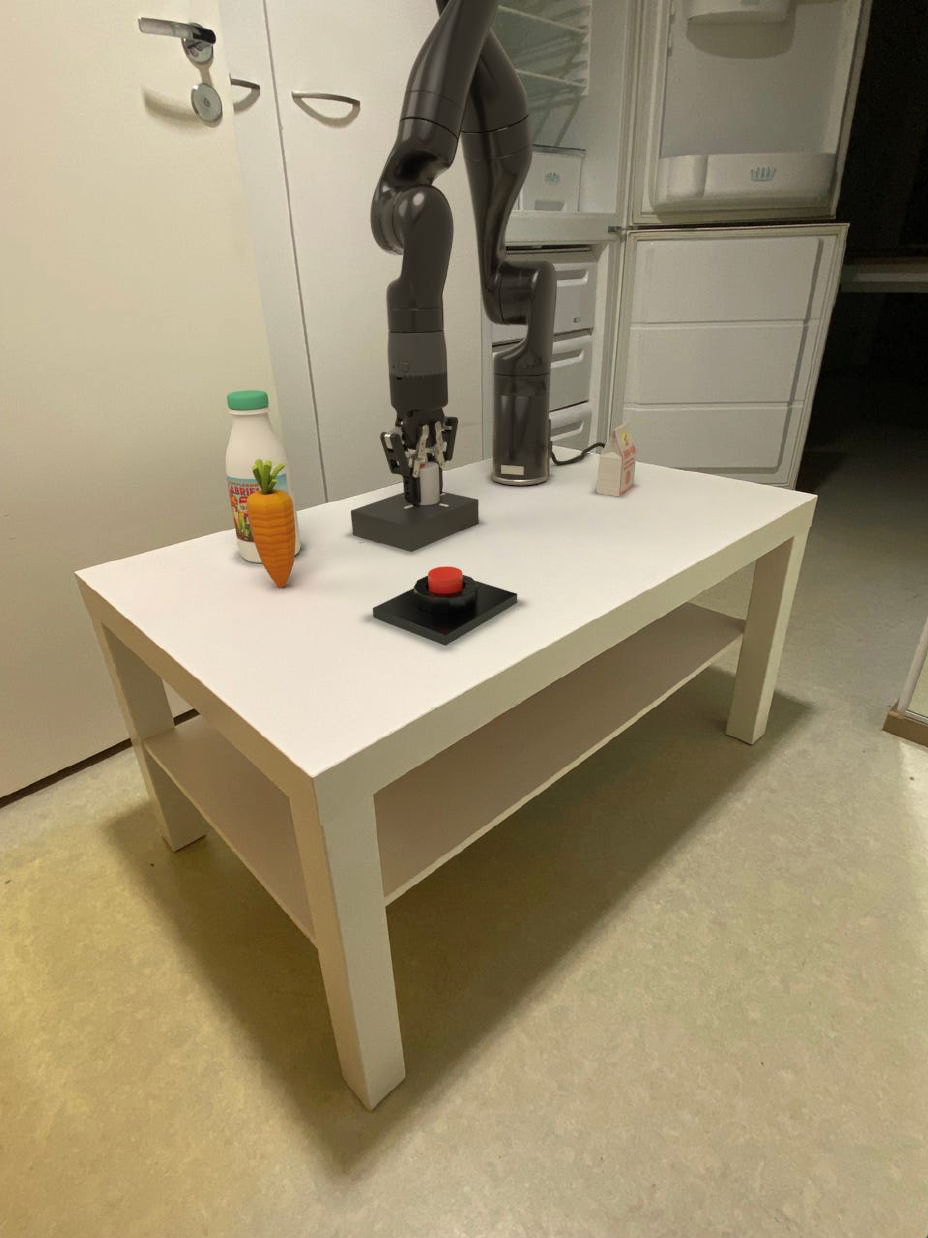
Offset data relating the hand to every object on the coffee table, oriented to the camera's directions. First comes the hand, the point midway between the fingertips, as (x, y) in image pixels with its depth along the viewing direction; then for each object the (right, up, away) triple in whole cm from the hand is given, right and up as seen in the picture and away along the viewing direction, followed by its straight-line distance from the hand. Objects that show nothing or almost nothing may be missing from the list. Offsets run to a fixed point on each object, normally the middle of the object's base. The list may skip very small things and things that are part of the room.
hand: (424, 497), depth 97 cm
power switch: (+4, -16, -23) cm, 28 cm away
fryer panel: (-1, -4, 0) cm, 4 cm away
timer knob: (0, 0, 0) cm, 0 cm away
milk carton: (+30, +4, +16) cm, 34 cm away
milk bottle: (-19, -8, -7) cm, 22 cm away
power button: (+4, -14, -24) cm, 28 cm away
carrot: (-15, -13, -17) cm, 26 cm away
